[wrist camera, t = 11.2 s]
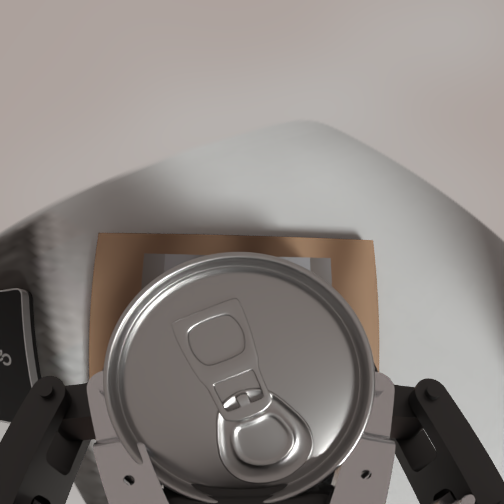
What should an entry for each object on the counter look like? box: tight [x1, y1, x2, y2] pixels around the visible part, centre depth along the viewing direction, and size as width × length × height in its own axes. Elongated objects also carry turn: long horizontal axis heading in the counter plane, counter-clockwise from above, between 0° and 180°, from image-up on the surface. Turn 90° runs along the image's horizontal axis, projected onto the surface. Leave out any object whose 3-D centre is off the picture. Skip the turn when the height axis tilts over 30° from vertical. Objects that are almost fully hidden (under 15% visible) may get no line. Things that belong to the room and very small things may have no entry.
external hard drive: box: [0, 288, 41, 424], centre depth 17 cm, size 7×11×2 cm, turn 10°
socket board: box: [89, 233, 379, 440], centre depth 17 cm, size 20×15×5 cm
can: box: [103, 252, 375, 503], centre depth 11 cm, size 6×6×12 cm
